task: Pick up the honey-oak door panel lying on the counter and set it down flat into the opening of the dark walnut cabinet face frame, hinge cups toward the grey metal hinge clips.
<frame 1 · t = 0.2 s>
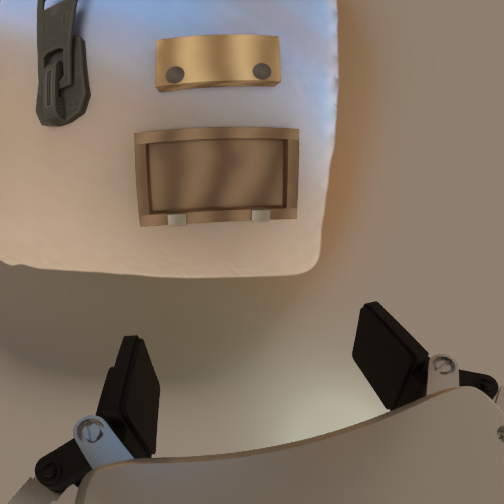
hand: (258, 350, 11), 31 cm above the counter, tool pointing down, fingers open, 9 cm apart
oak door: (216, 65, 32), on the counter
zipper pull: (66, 53, 26), on the counter
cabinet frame: (216, 173, 38), on the counter
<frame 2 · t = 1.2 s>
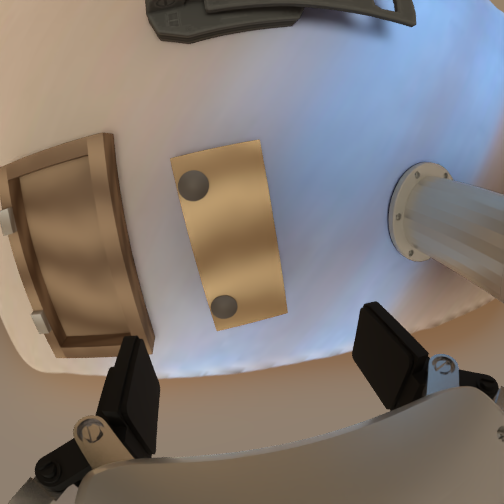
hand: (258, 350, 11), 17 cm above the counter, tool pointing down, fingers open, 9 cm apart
oak door: (229, 231, 27), on the counter
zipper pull: (276, 2, 19), on the counter
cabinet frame: (76, 255, 24), on the counter
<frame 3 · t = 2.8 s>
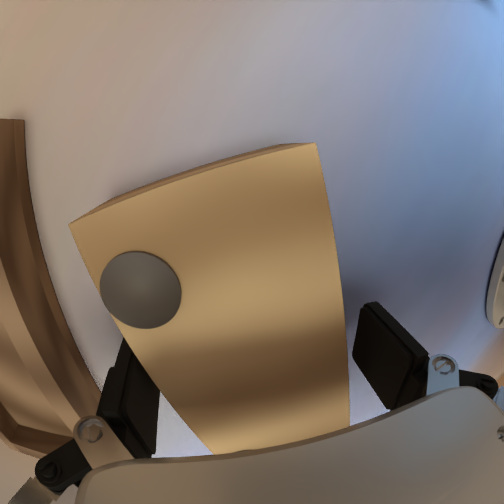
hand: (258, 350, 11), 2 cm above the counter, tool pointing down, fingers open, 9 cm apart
oak door: (247, 332, 13), on the counter
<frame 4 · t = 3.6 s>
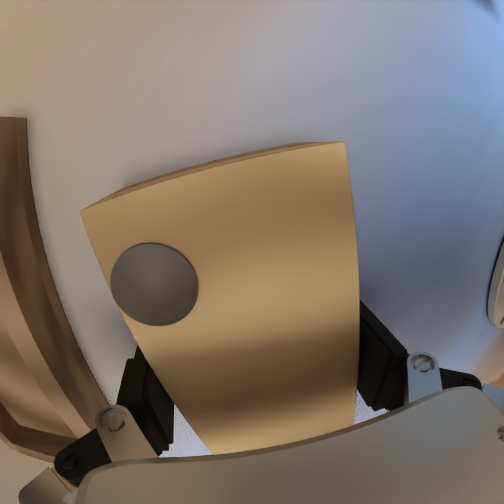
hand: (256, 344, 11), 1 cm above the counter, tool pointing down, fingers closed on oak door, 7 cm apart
oak door: (253, 333, 13), on the counter, touching gripper
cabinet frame: (0, 333, 11), on the counter
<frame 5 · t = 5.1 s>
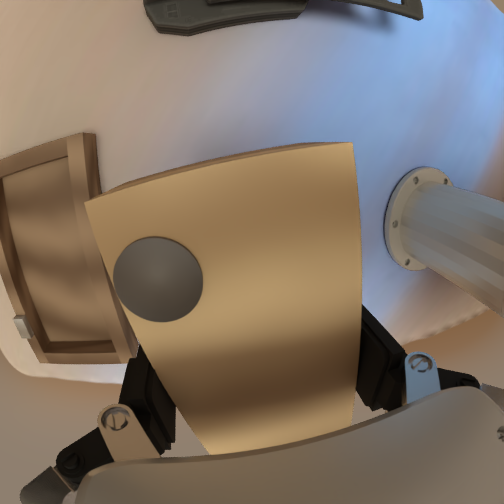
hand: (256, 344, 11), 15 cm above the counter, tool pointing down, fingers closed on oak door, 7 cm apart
oak door: (252, 332, 13), point 13 cm above the counter, touching gripper
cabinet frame: (57, 259, 22), on the counter
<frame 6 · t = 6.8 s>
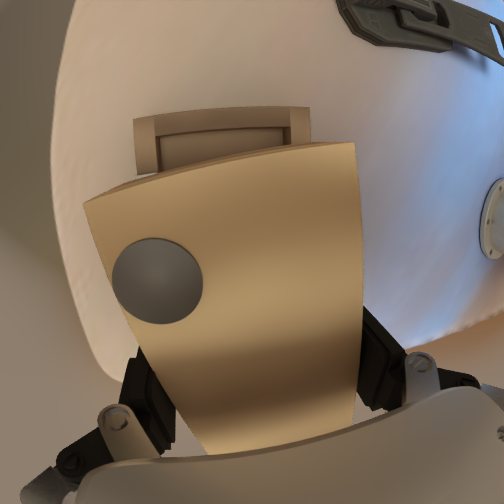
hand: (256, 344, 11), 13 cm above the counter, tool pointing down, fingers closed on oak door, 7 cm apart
oak door: (253, 333, 13), point 12 cm above the counter, touching gripper
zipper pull: (426, 28, 19), on the counter
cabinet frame: (229, 242, 24), on the counter
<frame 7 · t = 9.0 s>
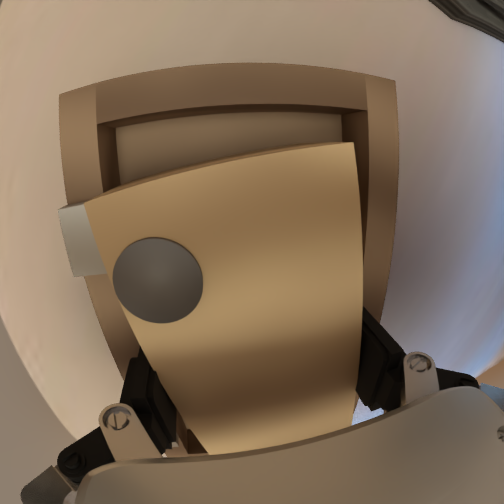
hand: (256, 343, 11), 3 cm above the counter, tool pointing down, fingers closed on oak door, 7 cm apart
oak door: (253, 333, 13), point 2 cm above the counter, touching gripper
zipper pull: (490, 12, 9), on the counter
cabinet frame: (243, 308, 14), on the counter
when the fingers open (3 cm above the counter, at t = 9.5 s): oak door stays where it is, resting on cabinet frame.
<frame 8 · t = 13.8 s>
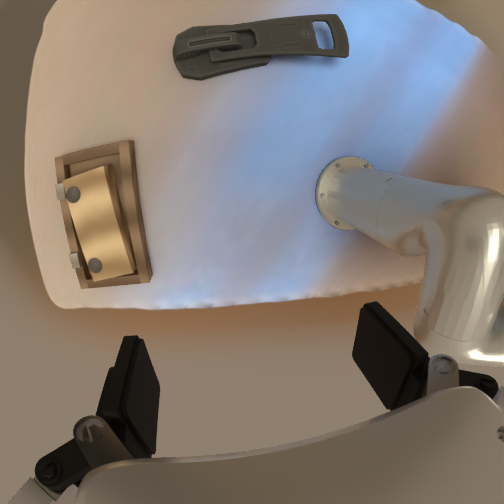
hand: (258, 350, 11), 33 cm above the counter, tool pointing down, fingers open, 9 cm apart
oak door: (104, 220, 39), point 1 cm above the counter, touching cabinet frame
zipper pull: (256, 48, 34), on the counter
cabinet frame: (104, 215, 39), on the counter
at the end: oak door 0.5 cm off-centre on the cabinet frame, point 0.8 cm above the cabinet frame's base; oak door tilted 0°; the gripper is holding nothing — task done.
